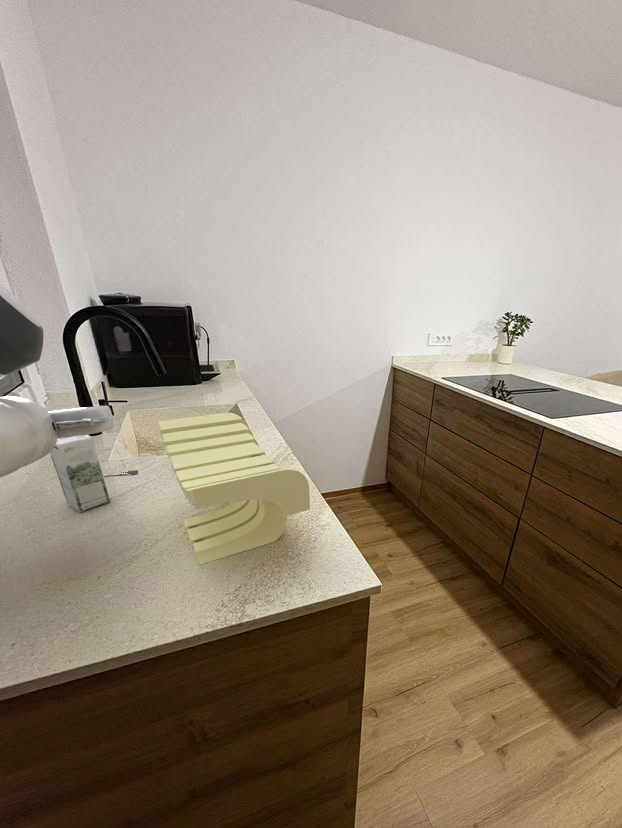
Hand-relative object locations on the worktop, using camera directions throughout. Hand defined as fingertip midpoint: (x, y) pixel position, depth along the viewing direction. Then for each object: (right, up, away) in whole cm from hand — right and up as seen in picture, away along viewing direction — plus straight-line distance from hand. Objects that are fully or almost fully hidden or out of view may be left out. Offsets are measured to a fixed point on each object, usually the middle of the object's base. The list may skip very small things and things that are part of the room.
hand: (47, 422), depth 62 cm
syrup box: (-4, -14, +16) cm, 22 cm away
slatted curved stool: (+28, -19, +9) cm, 35 cm away
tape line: (-8, -8, +27) cm, 29 cm away
